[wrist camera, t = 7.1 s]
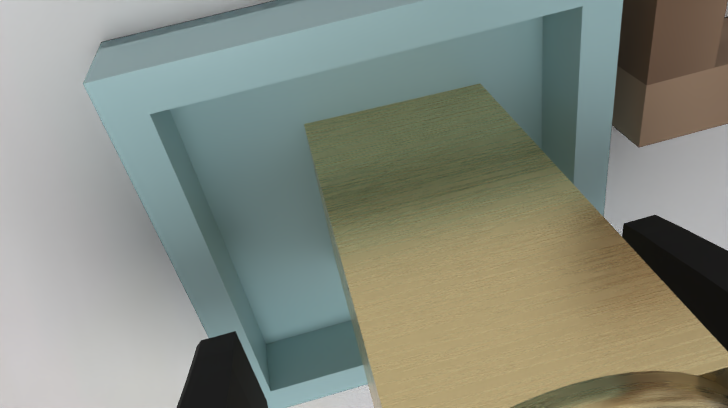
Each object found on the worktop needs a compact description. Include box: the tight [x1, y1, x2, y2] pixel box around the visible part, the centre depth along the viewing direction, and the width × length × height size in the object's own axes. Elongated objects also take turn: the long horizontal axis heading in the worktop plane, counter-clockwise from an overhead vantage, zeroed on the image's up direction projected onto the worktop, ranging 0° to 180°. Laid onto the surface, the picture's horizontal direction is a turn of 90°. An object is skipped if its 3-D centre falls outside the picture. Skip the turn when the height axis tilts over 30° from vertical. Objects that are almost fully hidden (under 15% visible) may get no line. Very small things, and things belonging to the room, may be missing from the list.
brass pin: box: [304, 84, 728, 408], centre depth 11 cm, size 5×5×9 cm
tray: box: [83, 0, 623, 408], centre depth 14 cm, size 10×10×2 cm
